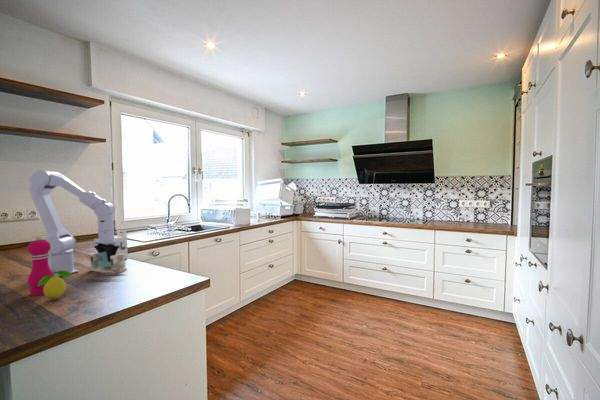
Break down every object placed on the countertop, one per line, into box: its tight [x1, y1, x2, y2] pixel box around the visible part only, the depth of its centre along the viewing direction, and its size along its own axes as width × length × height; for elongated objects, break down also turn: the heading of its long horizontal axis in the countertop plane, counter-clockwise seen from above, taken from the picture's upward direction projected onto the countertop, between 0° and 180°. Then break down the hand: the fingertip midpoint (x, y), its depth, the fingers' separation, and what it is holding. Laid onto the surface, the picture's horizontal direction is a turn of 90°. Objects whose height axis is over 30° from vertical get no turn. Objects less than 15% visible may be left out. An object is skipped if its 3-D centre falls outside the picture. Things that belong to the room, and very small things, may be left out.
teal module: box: [97, 251, 111, 268], centre depth 124 cm, size 5×4×6 cm
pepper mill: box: [26, 235, 55, 296], centre depth 100 cm, size 7×7×20 cm
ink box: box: [114, 229, 129, 260], centre depth 144 cm, size 9×5×15 cm, turn 62°
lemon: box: [38, 269, 73, 300], centre depth 93 cm, size 7×6×10 cm
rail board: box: [89, 251, 128, 275], centre depth 125 cm, size 6×15×7 cm, turn 68°
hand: (107, 260), depth 125 cm, fingers closed on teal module, 4 cm apart
